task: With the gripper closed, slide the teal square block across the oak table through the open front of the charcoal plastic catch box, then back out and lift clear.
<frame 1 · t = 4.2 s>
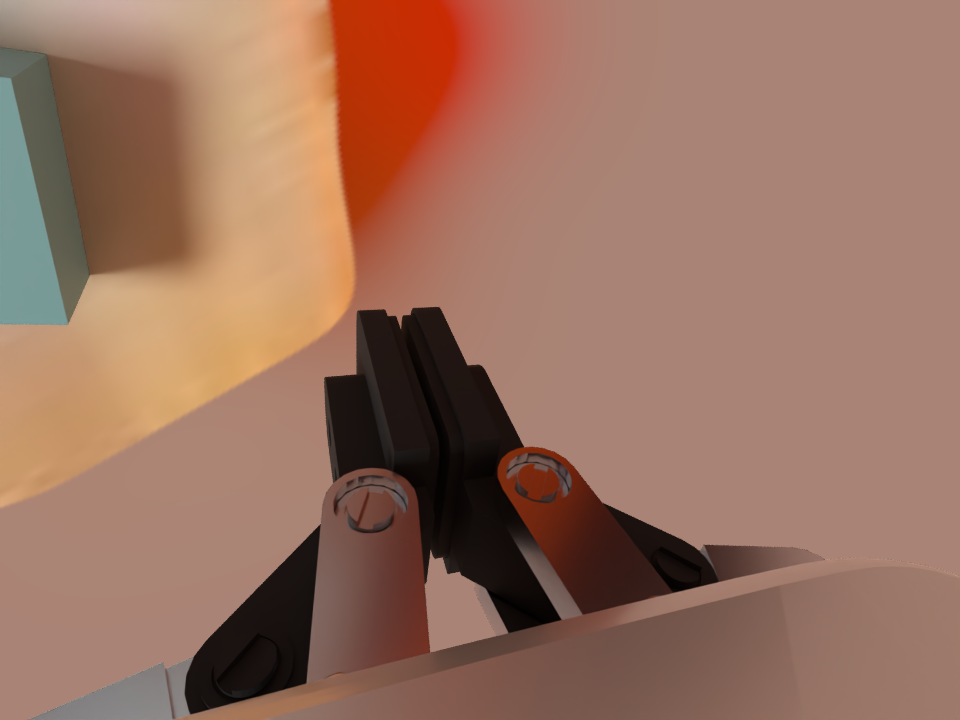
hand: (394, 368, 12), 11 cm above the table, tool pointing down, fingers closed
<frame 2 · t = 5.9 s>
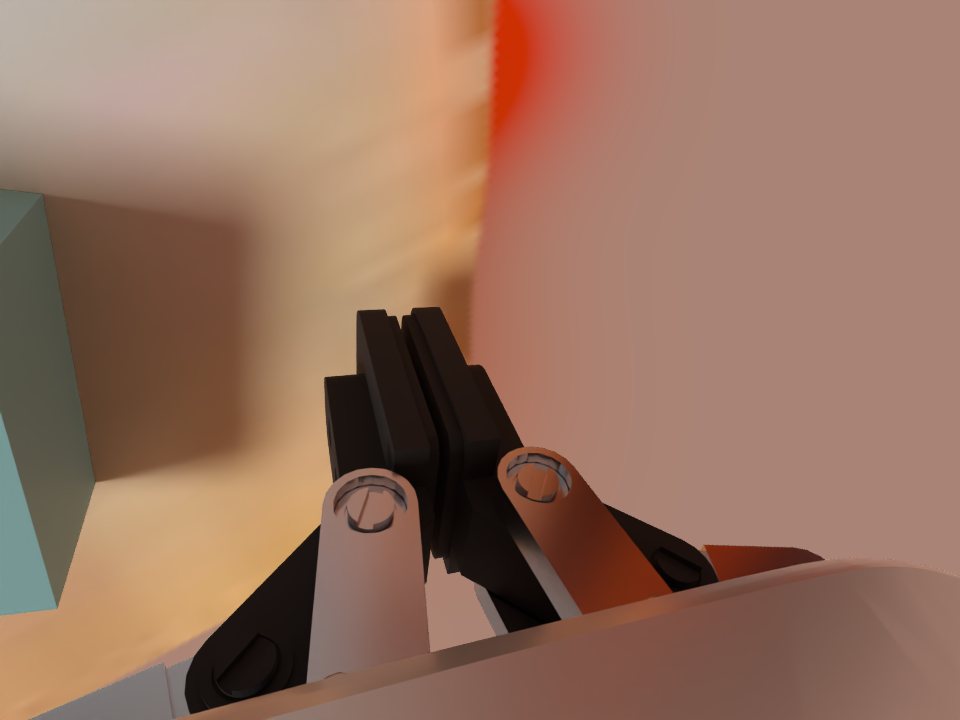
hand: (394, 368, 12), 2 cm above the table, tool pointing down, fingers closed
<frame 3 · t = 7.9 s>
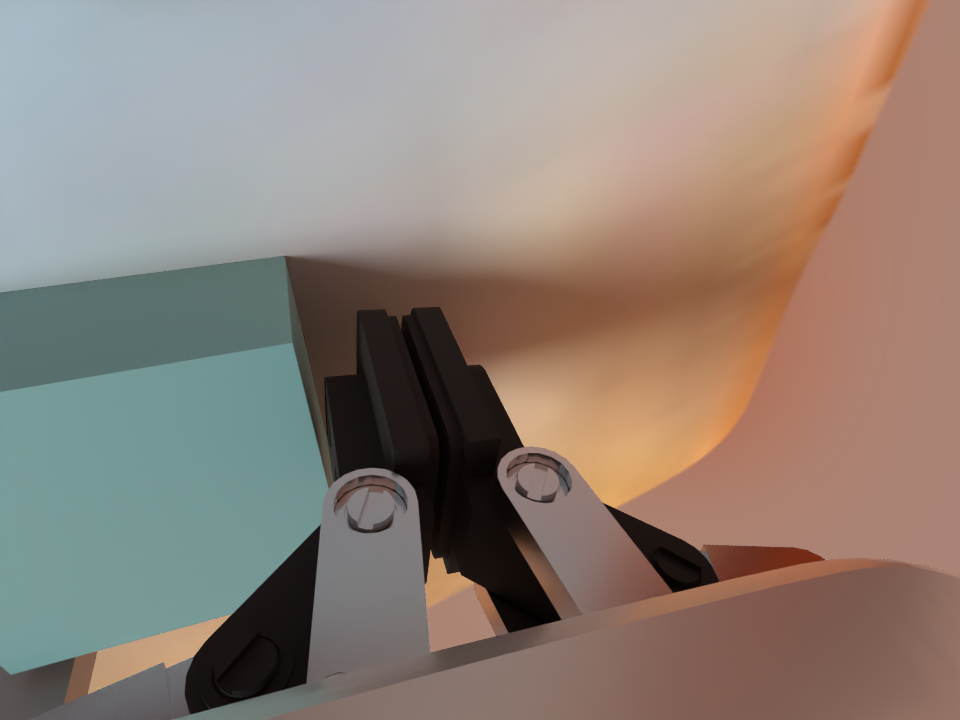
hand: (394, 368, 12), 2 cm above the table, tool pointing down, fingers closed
teal square block: (158, 406, 13), on the table, touching gripper
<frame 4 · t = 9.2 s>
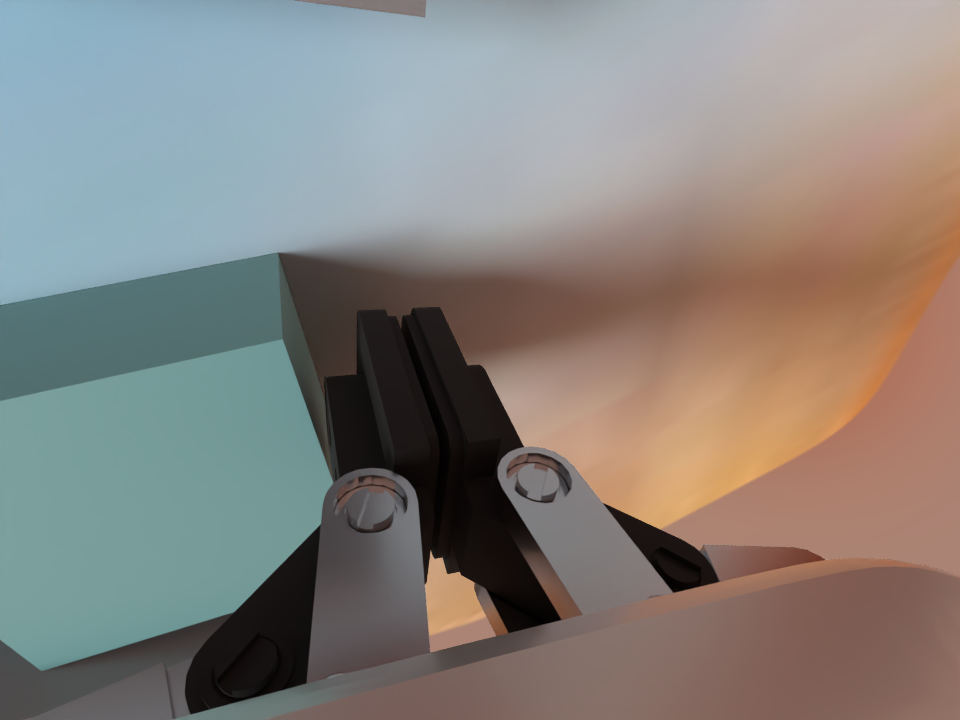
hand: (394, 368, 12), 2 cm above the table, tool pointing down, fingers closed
catch box: (23, 340, 11), on the table
teal square block: (167, 407, 13), on the table, touching catch box, gripper
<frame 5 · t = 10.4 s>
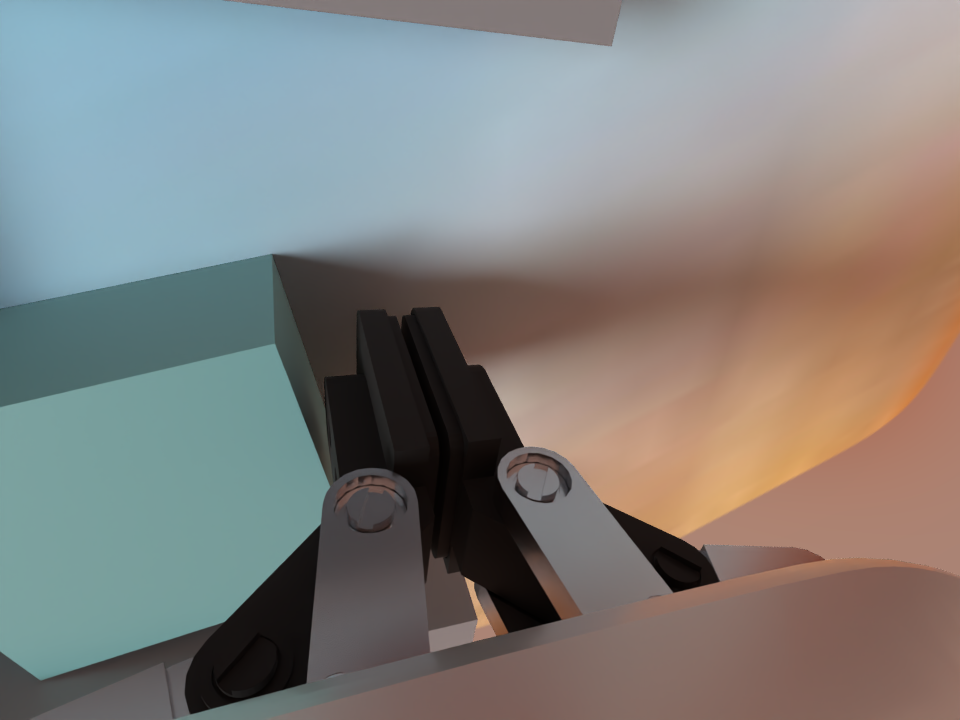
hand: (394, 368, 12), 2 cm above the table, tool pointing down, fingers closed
catch box: (162, 338, 12), on the table
teal square block: (164, 413, 13), on the table
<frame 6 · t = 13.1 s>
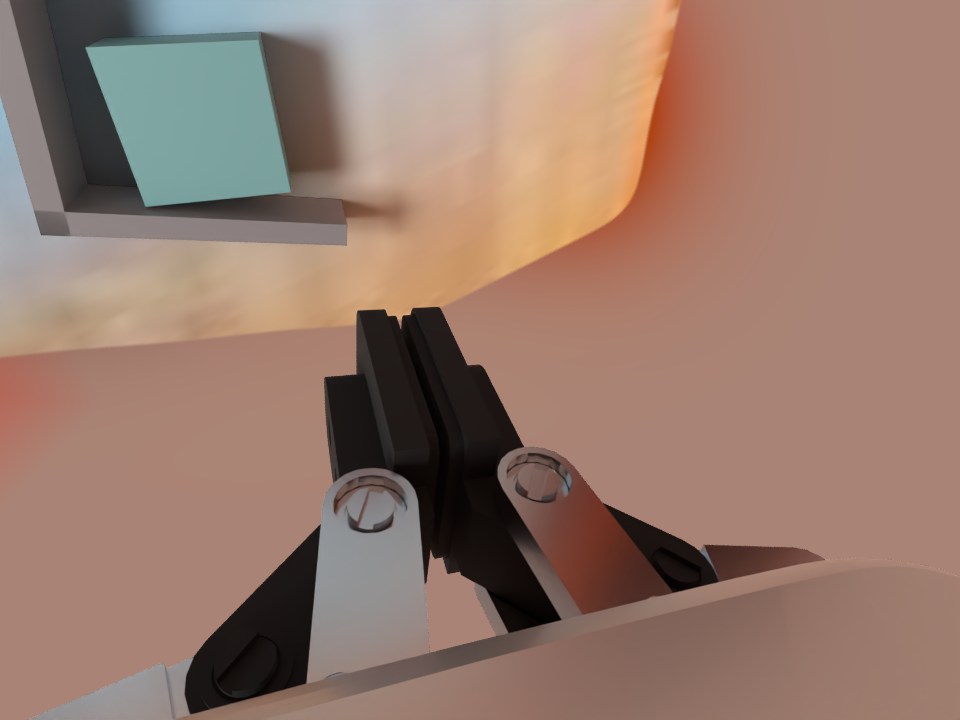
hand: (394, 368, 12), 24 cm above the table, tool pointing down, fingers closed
catch box: (210, 63, 28), on the table
teal square block: (206, 111, 29), on the table
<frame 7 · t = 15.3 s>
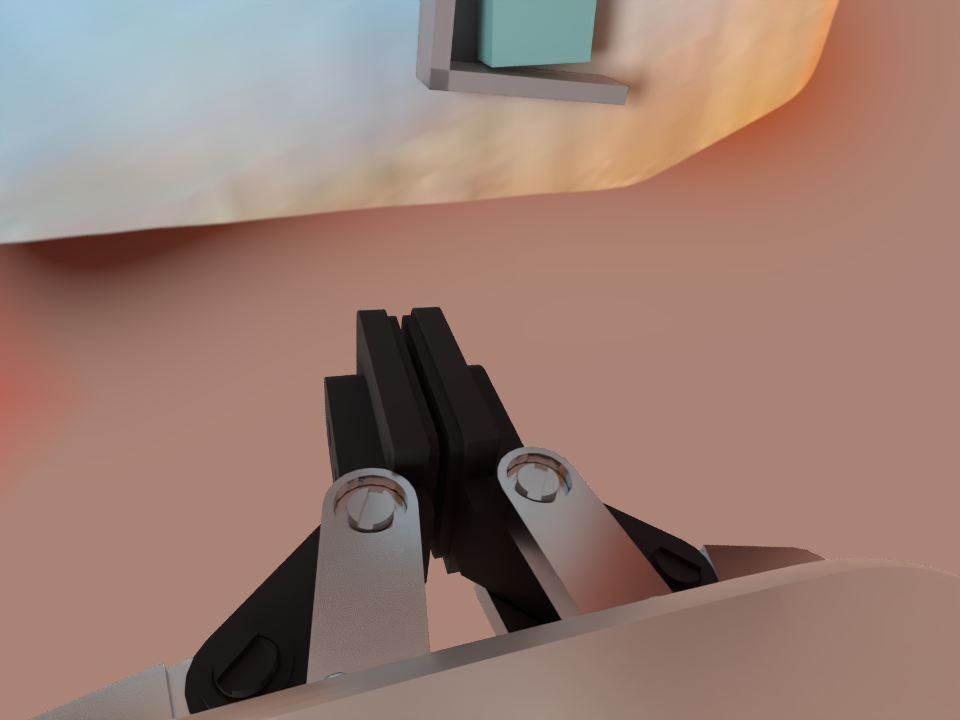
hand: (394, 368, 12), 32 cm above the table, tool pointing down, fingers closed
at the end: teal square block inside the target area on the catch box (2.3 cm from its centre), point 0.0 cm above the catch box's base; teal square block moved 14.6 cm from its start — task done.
